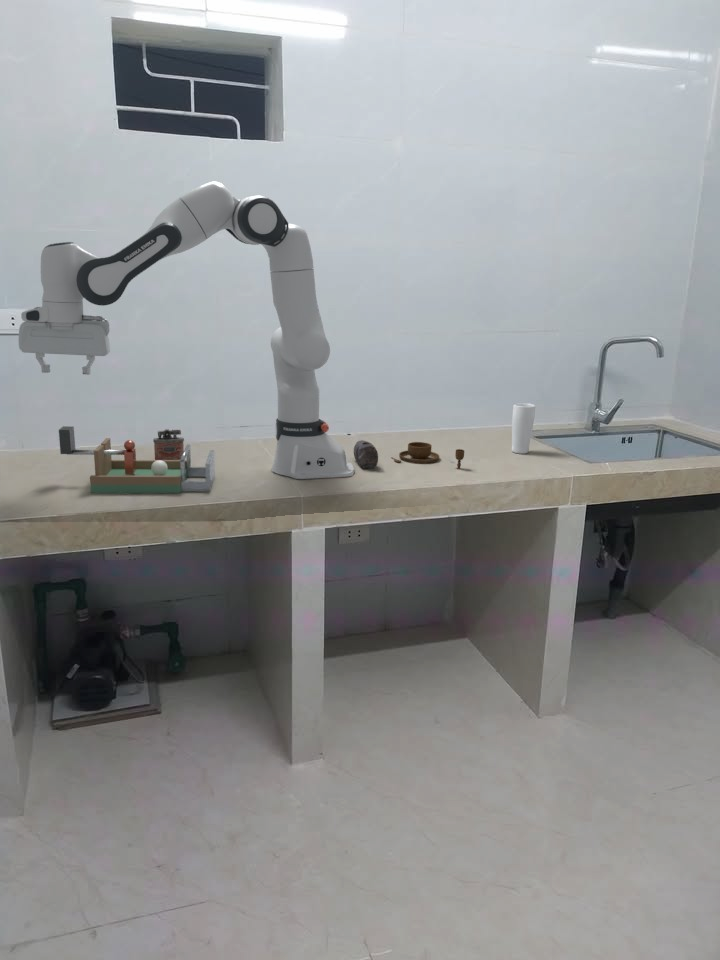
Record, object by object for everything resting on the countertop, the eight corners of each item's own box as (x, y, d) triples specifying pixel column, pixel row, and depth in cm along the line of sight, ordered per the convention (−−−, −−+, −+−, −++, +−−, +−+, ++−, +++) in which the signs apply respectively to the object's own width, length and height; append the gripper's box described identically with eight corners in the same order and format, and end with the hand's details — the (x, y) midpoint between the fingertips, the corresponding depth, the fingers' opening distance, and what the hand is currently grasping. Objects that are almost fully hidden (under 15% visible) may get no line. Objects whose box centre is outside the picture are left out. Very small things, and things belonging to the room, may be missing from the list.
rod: (137, 469, 188) (135, 427, 185) (134, 474, 184) (132, 430, 181) (66, 469, 186) (63, 426, 183) (62, 473, 182) (58, 429, 179)
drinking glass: (532, 455, 229) (537, 407, 225) (510, 454, 230) (515, 406, 225) (528, 450, 236) (533, 403, 232) (507, 449, 236) (511, 402, 232)
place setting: (438, 454, 229) (439, 435, 227) (467, 471, 211) (468, 451, 209) (385, 456, 224) (386, 437, 222) (409, 474, 205) (410, 453, 204)
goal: (214, 476, 195) (213, 444, 193) (210, 491, 182) (209, 457, 180) (187, 475, 195) (186, 444, 192) (181, 491, 181) (179, 457, 179)
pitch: (187, 474, 196) (186, 437, 193) (180, 492, 180) (179, 452, 178) (105, 474, 193) (103, 437, 190) (91, 492, 178) (88, 452, 175)
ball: (169, 473, 189) (168, 458, 188) (166, 478, 185) (166, 462, 184) (152, 473, 188) (152, 458, 187) (150, 477, 185) (149, 462, 184)
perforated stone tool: (349, 458, 219) (349, 435, 217) (366, 457, 220) (367, 434, 218) (360, 471, 205) (361, 447, 203) (379, 471, 206) (380, 446, 204)
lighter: (154, 467, 202) (153, 431, 199) (154, 464, 205) (152, 428, 202) (185, 466, 204) (183, 430, 201) (184, 463, 207) (183, 427, 204)
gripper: (112, 315, 178) (114, 373, 182) (23, 311, 176) (27, 369, 180) (105, 317, 172) (107, 377, 176) (13, 312, 170) (18, 373, 174)
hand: (66, 373), depth 178 cm, fingers open, 8 cm apart
